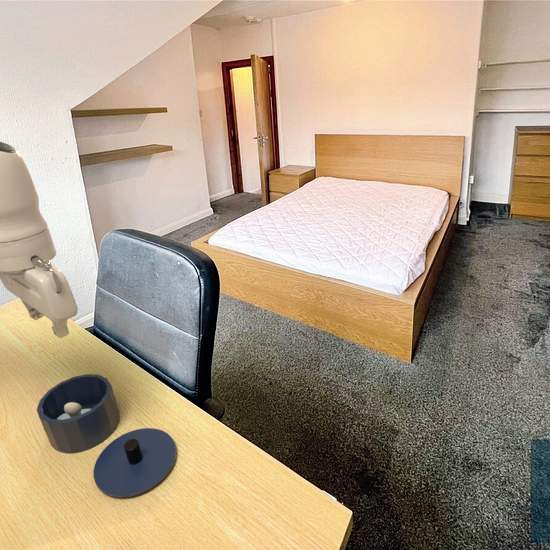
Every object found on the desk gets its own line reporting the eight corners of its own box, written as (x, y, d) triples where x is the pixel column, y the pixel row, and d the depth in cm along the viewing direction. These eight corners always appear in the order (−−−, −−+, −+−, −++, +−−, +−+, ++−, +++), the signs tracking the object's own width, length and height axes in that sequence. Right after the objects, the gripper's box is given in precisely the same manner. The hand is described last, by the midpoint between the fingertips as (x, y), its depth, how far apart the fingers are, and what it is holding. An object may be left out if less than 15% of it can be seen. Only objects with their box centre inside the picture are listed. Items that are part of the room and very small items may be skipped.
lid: (89, 510, 63) (81, 490, 61) (100, 442, 75) (93, 424, 73) (178, 486, 66) (173, 467, 64) (175, 424, 78) (170, 406, 76)
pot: (42, 461, 72) (28, 430, 69) (57, 410, 83) (46, 382, 80) (117, 443, 75) (107, 412, 71) (122, 396, 86) (113, 368, 82)
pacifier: (66, 414, 82) (56, 437, 76) (57, 389, 79) (46, 411, 74) (104, 409, 82) (96, 431, 77) (96, 384, 80) (88, 405, 74)
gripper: (74, 257, 59) (98, 337, 65) (18, 232, 71) (43, 301, 77) (28, 274, 54) (58, 357, 60) (-24, 244, 66) (6, 316, 73)
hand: (49, 325), depth 69 cm, fingers open, 8 cm apart
